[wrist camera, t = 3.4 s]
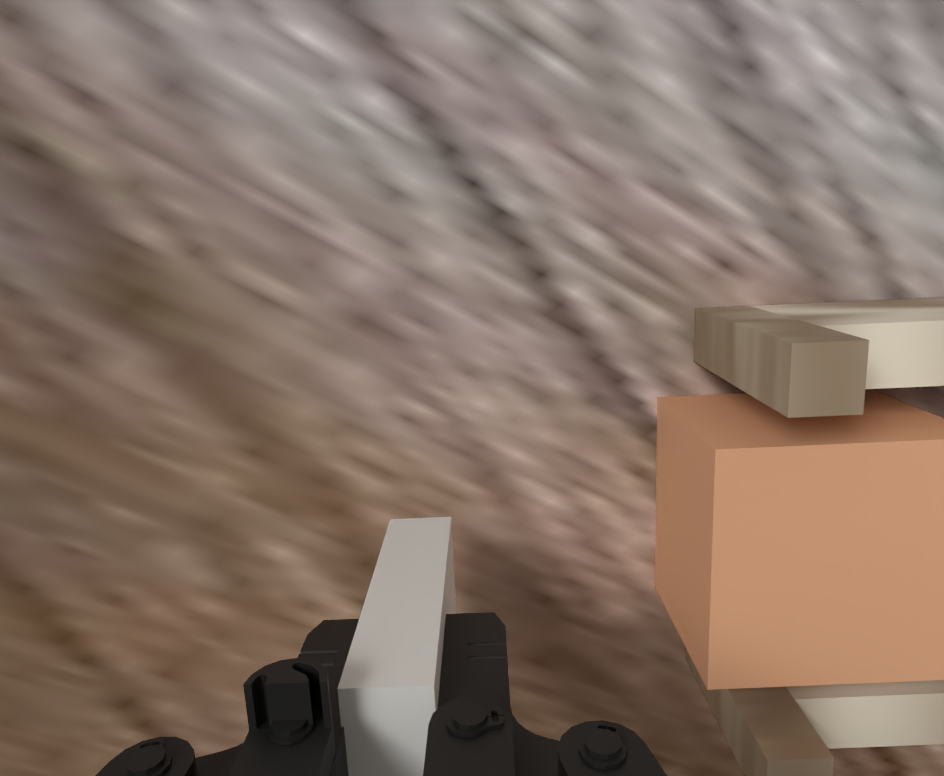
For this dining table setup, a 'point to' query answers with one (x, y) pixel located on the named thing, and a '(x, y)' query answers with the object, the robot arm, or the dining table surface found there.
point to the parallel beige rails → (811, 395)
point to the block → (801, 541)
